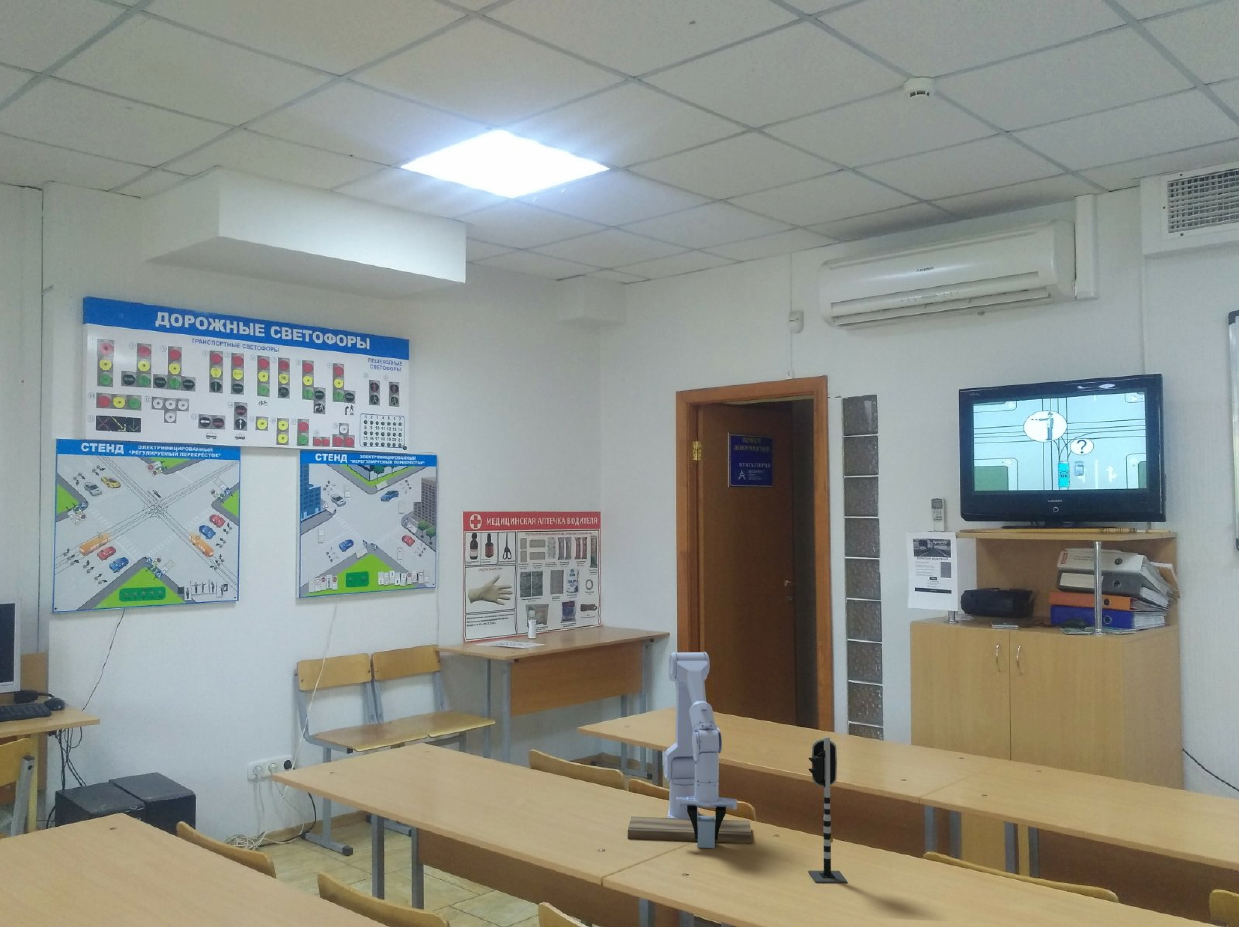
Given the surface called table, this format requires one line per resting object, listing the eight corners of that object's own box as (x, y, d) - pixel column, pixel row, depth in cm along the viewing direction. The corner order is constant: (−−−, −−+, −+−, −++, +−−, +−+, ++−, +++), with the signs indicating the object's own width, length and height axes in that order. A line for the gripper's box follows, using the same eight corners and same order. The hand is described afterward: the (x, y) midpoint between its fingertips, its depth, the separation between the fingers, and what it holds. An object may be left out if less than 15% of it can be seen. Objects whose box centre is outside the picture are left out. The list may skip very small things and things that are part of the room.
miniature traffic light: (838, 871, 222) (838, 733, 224) (847, 883, 214) (846, 740, 217) (805, 871, 222) (805, 733, 224) (812, 882, 214) (812, 740, 216)
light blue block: (698, 837, 245) (698, 812, 246) (714, 838, 245) (714, 813, 245) (697, 847, 237) (697, 821, 238) (714, 848, 237) (714, 822, 237)
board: (631, 824, 256) (631, 816, 256) (749, 828, 253) (749, 820, 254) (627, 838, 244) (627, 829, 244) (751, 843, 242) (751, 834, 242)
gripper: (675, 783, 237) (675, 842, 236) (737, 785, 236) (737, 844, 235) (676, 776, 244) (676, 833, 243) (736, 778, 243) (736, 835, 242)
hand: (706, 838), depth 240 cm, fingers closed on light blue block, 4 cm apart
